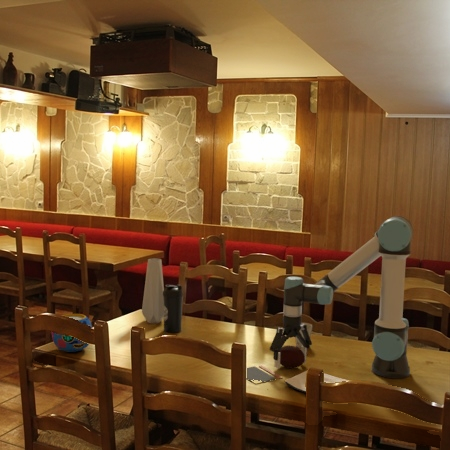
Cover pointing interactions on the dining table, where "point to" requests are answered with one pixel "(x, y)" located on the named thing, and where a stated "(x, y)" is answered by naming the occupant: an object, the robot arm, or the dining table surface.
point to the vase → (153, 292)
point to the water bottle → (173, 308)
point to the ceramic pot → (70, 342)
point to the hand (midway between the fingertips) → (290, 364)
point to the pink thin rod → (271, 372)
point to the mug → (309, 329)
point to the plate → (300, 379)
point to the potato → (291, 357)
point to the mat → (258, 374)
